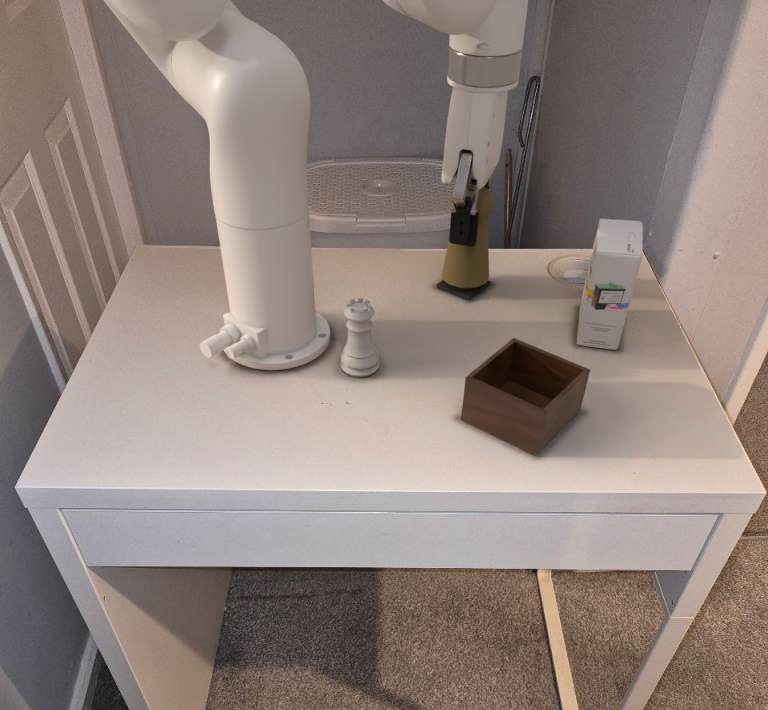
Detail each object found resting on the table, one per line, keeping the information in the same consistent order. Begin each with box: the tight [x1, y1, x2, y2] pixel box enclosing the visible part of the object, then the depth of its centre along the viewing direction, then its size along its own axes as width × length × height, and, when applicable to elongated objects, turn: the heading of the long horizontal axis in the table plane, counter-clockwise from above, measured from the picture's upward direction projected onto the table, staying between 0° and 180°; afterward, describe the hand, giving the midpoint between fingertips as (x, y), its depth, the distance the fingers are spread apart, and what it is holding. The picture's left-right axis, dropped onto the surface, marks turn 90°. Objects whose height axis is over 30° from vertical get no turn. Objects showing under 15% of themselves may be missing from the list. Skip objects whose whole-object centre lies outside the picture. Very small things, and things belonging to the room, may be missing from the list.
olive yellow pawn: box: [441, 187, 495, 288], centre depth 92 cm, size 6×6×11 cm
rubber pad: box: [436, 279, 492, 301], centre depth 97 cm, size 5×5×1 cm
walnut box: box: [460, 337, 591, 457], centre depth 77 cm, size 9×9×5 cm
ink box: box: [576, 218, 644, 351], centre depth 87 cm, size 8×5×12 cm, turn 167°
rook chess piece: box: [339, 296, 381, 379], centre depth 82 cm, size 4×4×8 cm
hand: (468, 231), depth 92 cm, fingers closed on olive yellow pawn, 5 cm apart
